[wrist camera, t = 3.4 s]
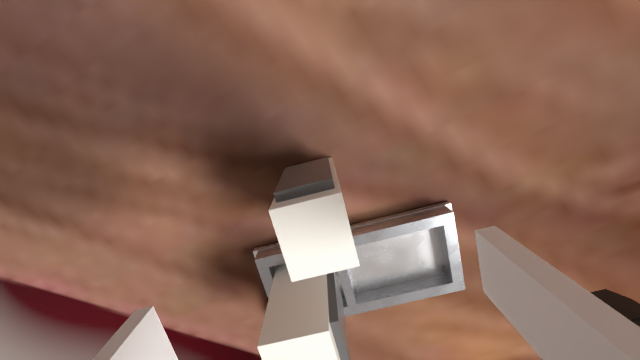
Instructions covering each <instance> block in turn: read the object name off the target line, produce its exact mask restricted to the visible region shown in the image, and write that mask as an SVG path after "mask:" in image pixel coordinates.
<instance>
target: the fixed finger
mask: <svg viewBox="0 0 640 360" xmlns="http://www.w3.org/2000/svg"><path fill="white" fill-rule="evenodd" d="M257 348H258V350H259V353H260V356H261V358H262V360H350V354H349V346H348V338H347V330H346V323H345V315H344V307H343V300H342V296H341V292H340V289H339V285H338V282H337V278H336V274H335V272H333V273H328V274H324V275H320V276H316V277H311V278H307V279H303V280H299V281H294V282H291V278H290V275H289V272H288V269H287V266H286V263H284V264H279V265H277V266H276V271H275V275H274V279H273V283H272V287H271V291H270V296H269V300H268V304H267V308H266V312H265V316H264V320H263V325H262V329H261V333H260V337H259V341H258V345H257Z"/></svg>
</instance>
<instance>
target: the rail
mask: <svg viewBox="0 0 640 360" xmlns="http://www.w3.org/2000/svg"><path fill="white" fill-rule="evenodd" d="M350 228H351V232H352V236H353V240H354V244H355V248H356V252H357V256H358V260H359V264H360V266H358V267H354V268H350V269H346V270H341V271H337V272H335V274H336V278H337V282H338V285H339V289H340V292H341V296H342V300H343V307H344V315H345V316H349V315H354V314H358V313H363V312H367V311H372V310H376V309H380V308H385V307H389V306H394V305H398V304H403V303H407V302H412V301H416V300H420V299H425V298H429V297H434V296H438V295H443V294H447V293H451V292H456V291H460V290H465V284H464V278H463V271H462V264H461V258H460V251H459V244H458V238H457V231H456V224H455V218H454V212H453V211H452V206H451V203H450V202H449V201H447V202H443V203H439V204H435V205H431V206H427V207H422V208H418V209H414V210H410V211H406V212H402V213H398V214H394V215H389V216H385V217H381V218H377V219H373V220H369V221H365V222H361V223H356V224H352V225H350ZM253 254H254V257H255V263H256V266H257V269H258V271H259V274H260V277H261V280H262V283H263V285H264V288H265V291H266V294H267V297H268V300H269V296H270V291H271V287H272V283H273V279H274V275H275V271H276V266H277V265H279V264H284V263H285V260H284V257H283V254H282V251H281V248H280V245H279V242H278V243H274V244H270V245H266V246H262V247H257V248H254V249H253Z"/></svg>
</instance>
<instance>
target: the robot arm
mask: <svg viewBox="0 0 640 360" xmlns="http://www.w3.org/2000/svg"><path fill="white" fill-rule="evenodd" d="M475 236H476V243H477V251H478V258H479V265H480V272H481V280H482V287H483V292H484V293H485V294H486V295H487V296H488V298H489V299H490V300H491V301H492V302H493V303H494V304H495V306H496V307H497V308H498V309H499V310H500V311H501V312H502V314H503V315H504V316H505V317H506V318H507V319H508V320H509V322H510V323H511V324H512V325H513V326H514V327H515V329H516V330H517V331H518V332H519V333H520V334H521V335H522V337H523V338H524V339H525V340H526V341H527V342H528V343H529V345H530V346H531V347H532V348H533V349H534V350H535V351H536V353H537V354H538V355H539V356H540V357H541V358H542V360H640V304H639V303H637V302H636V301H634V300H632V299H630V298H627V297H625V296H622V295H620V294H617V293H614V292H612V291H609V290H607V289H604V290H599V291H595V292H589V291H587V290H586V289H584V288H583V287H582V286H580V285H579V284H577V283H576V282H574V281H573V280H572V279H570V278H569V277H567V276H566V275H564V274H563V273H562V272H560V271H559V270H557V269H556V268H555V267H553V266H552V265H550V264H549V263H547V262H546V261H545V260H543V259H542V258H540V257H539V256H537V255H536V254H535V253H533V252H532V251H530V250H529V249H527V248H526V247H525V246H523V245H522V244H520V243H519V242H517V241H516V240H515V239H513V238H512V237H510V236H509V235H507V234H506V233H505V232H503V231H502V230H500V229H499V228H497V227H496V226H491V227H487V228H483V229H478V230H475ZM92 360H178V359H177V356H176V354H175V352H174V350H173V348H172V346H171V344H170V341H169V339H168V337H167V335H166V333H165V331H164V328H163V326H162V324H161V322H160V320H159V318H158V316H157V313H156V311H155V309H154V307H153V306H151V307H147V308H142V309H138V310H135V311H134V312H133V314H132V315H131V316H130V317H129V318H128V319H127V320H126V322H125V323H124V324H123V325H122V326H121V327H120V329H119V330H118V331H117V332H116V333H115V334H114V335H113V336H112V338H111V339H110V340H109V341H108V342H107V343H106V344H105V346H104V347H103V348H102V349H101V350H100V351H99V352H98V354H97V355H96V356H95V357H94V358H93V359H92Z"/></svg>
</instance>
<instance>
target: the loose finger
mask: <svg viewBox="0 0 640 360" xmlns="http://www.w3.org/2000/svg"><path fill="white" fill-rule="evenodd" d="M273 194H274V199H273V201H272V204H271V206H270V208H269V214H270V217H271V220H272V223H273V226H274V229H275V232H276V235H277V238H278V241H279V245H280V248H281V251H282V254H283V257H284V260H285V263H286V266H287V269H288V272H289V275H290V278H291V282H294V281H299V280H303V279H307V278H311V277H316V276H320V275H324V274H328V273H333V272H337V271H341V270H346V269H350V268H354V267H358V266H360V264H359V260H358V256H357V252H356V248H355V244H354V240H353V236H352V232H351V228H350V224H349V220H348V216H347V212H346V208H345V204H344V200H343V196H342V192H341V189H340V185H339V181H338V177H337V174H336V170H335V166H334V162H333V159H332V157H330V158H328V157H325V158H321V159H318V160H314V161H310V162H306V163H302V164H298V165H294V166H290V167H286V168H285V169H284V171H283V173H282V175H281V178H280V180H279V182H278V184H277V186H276V188H275V190H274V193H273Z"/></svg>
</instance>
